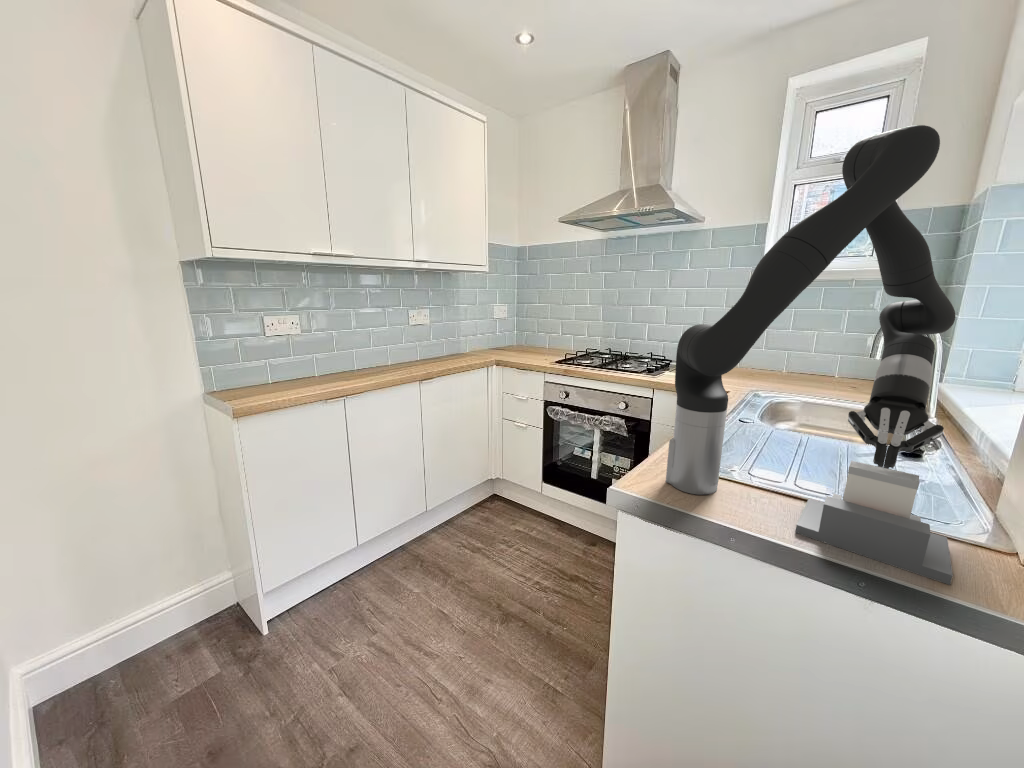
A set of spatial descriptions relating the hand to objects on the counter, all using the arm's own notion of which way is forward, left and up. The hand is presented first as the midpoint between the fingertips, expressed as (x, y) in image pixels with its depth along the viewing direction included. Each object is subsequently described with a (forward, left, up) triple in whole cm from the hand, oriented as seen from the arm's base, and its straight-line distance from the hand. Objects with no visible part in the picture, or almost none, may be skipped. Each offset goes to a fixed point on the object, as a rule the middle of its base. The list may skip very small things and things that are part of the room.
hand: (883, 467), depth 69 cm
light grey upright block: (0, -7, -8) cm, 11 cm away
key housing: (0, -7, -10) cm, 13 cm away
